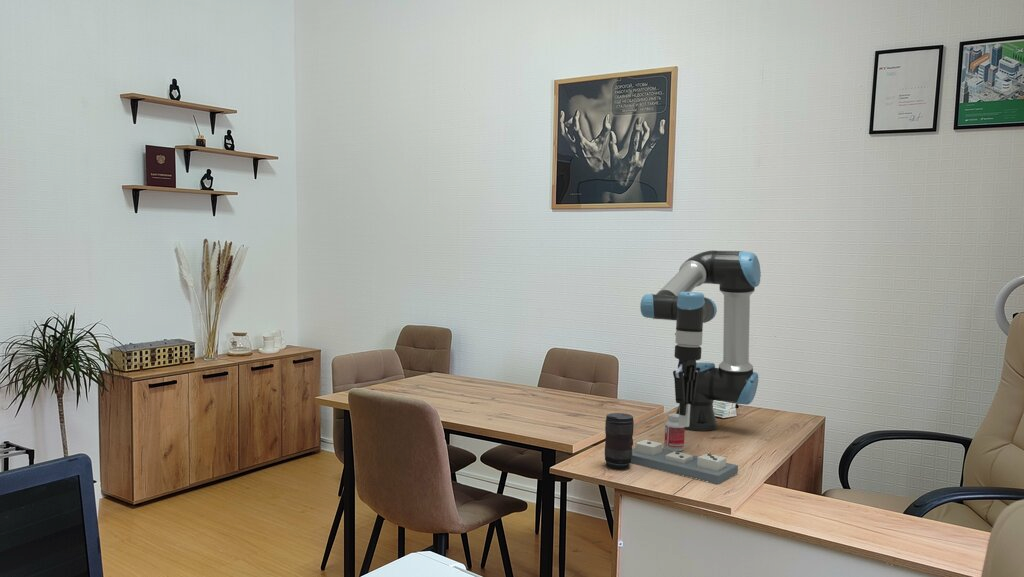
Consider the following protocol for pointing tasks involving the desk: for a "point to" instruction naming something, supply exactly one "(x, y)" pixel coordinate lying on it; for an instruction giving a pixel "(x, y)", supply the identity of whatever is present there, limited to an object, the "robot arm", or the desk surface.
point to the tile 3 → (711, 462)
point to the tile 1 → (648, 447)
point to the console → (684, 467)
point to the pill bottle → (674, 434)
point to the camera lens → (618, 440)
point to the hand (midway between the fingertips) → (683, 425)
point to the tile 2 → (679, 457)
